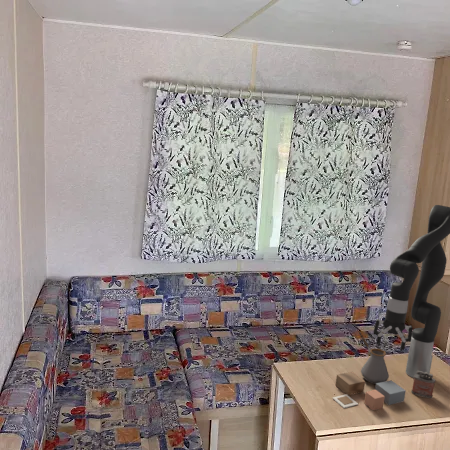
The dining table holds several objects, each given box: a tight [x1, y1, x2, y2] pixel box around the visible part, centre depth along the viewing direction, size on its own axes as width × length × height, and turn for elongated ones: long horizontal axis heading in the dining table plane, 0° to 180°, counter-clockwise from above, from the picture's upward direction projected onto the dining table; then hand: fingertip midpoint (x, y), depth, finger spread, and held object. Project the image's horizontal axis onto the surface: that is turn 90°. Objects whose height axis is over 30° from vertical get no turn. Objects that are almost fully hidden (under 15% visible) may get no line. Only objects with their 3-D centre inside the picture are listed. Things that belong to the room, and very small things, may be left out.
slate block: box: [374, 379, 406, 406], centre depth 196 cm, size 8×8×5 cm
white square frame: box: [331, 393, 359, 409], centre depth 192 cm, size 7×7×1 cm
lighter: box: [411, 371, 436, 399], centre depth 200 cm, size 8×3×10 cm, turn 71°
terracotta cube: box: [363, 389, 385, 411], centre depth 190 cm, size 5×5×5 cm
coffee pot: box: [356, 331, 390, 385], centre depth 213 cm, size 21×12×15 cm, turn 17°
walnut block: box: [335, 371, 366, 396], centre depth 201 cm, size 8×8×5 cm
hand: (389, 347), depth 196 cm, fingers open, 8 cm apart
